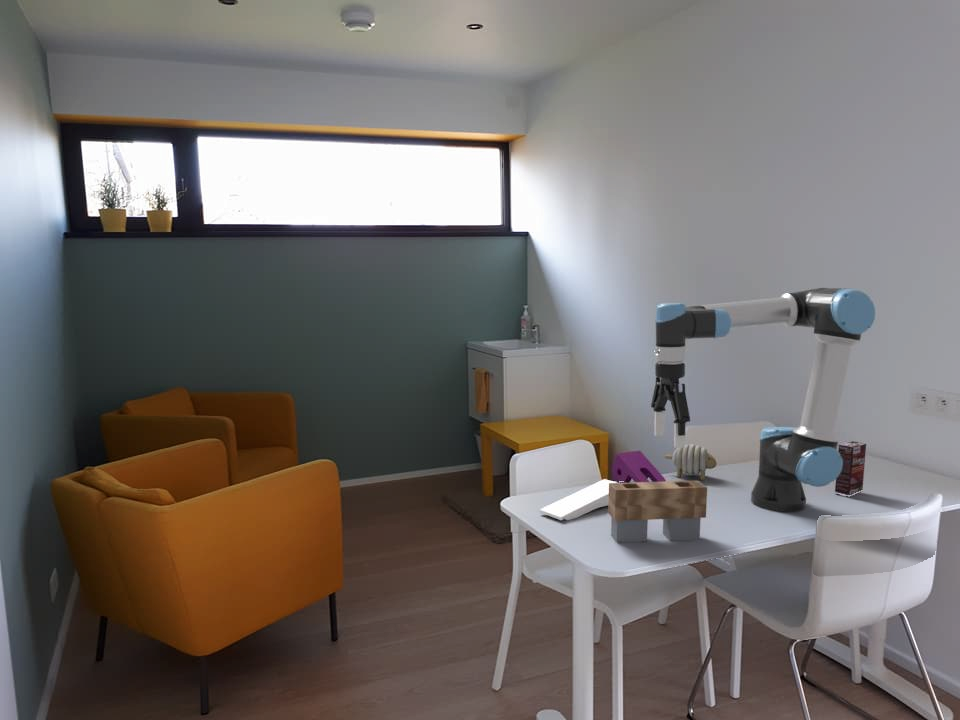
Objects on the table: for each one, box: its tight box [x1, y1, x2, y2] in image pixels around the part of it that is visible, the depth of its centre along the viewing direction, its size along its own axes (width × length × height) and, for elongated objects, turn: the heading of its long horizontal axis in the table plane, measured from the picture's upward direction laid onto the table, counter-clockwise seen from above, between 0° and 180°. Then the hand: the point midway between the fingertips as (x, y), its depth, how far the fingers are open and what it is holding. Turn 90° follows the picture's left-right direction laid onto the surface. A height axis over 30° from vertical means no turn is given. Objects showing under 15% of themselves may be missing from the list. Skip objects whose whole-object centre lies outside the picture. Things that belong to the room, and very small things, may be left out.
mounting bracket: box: [611, 450, 667, 483], centre depth 233 cm, size 9×8×18 cm
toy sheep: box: [664, 443, 717, 481], centre depth 242 cm, size 11×17×11 cm, turn 70°
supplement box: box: [834, 440, 867, 495], centre depth 223 cm, size 9×5×16 cm, turn 126°
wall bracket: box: [539, 478, 618, 521], centre depth 210 cm, size 10×7×28 cm
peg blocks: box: [610, 517, 701, 543], centre depth 187 cm, size 22×5×10 cm, turn 96°
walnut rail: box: [607, 480, 708, 521], centre depth 186 cm, size 24×6×8 cm, turn 96°
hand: (669, 441), depth 192 cm, fingers open, 13 cm apart
